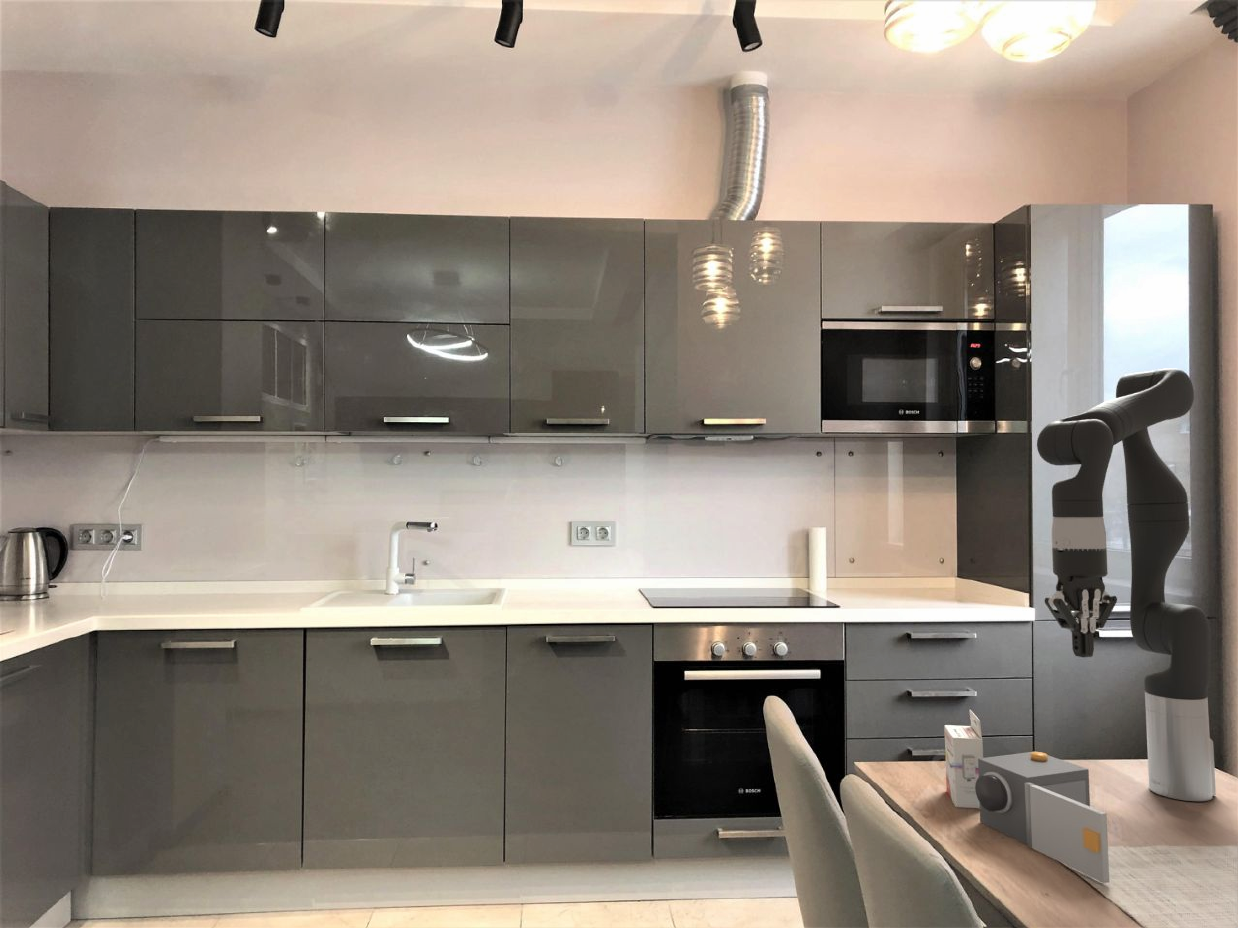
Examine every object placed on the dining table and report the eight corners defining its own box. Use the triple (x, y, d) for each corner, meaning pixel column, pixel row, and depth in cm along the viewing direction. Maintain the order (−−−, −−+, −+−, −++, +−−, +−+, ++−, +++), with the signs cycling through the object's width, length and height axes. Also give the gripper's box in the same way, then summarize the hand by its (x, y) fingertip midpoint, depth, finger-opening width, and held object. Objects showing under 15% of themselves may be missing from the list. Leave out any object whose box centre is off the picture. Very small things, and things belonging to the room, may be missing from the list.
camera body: (1038, 812, 133) (1036, 746, 134) (1092, 835, 124) (1089, 764, 124) (970, 823, 129) (967, 754, 129) (1020, 848, 119) (1017, 773, 120)
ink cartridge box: (944, 790, 144) (942, 707, 145) (974, 792, 143) (971, 708, 144) (954, 807, 136) (951, 719, 137) (986, 809, 135) (983, 720, 136)
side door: (1110, 882, 107) (1107, 812, 108) (1100, 883, 107) (1097, 814, 107) (1031, 843, 120) (1029, 781, 120) (1022, 845, 119) (1020, 783, 120)
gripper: (1090, 544, 133) (1094, 650, 132) (1027, 545, 129) (1031, 655, 128) (1131, 546, 126) (1136, 657, 125) (1066, 547, 122) (1071, 663, 121)
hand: (1083, 656), depth 127 cm, fingers closed
